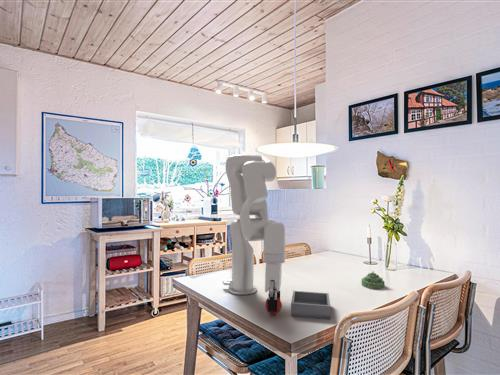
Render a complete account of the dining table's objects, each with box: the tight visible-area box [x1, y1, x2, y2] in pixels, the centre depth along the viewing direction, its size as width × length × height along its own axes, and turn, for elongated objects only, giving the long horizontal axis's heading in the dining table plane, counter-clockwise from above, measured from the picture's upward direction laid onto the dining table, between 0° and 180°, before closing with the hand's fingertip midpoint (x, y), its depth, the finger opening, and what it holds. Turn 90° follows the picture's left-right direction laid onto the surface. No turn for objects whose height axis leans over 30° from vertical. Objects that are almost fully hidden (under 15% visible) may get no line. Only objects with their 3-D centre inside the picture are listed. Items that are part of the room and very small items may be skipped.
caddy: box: [290, 290, 332, 320], centre depth 116 cm, size 14×14×4 cm
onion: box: [264, 293, 283, 317], centre depth 111 cm, size 6×6×8 cm
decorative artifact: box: [361, 270, 386, 290], centre depth 146 cm, size 10×7×10 cm
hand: (274, 306), depth 110 cm, fingers open, 9 cm apart
